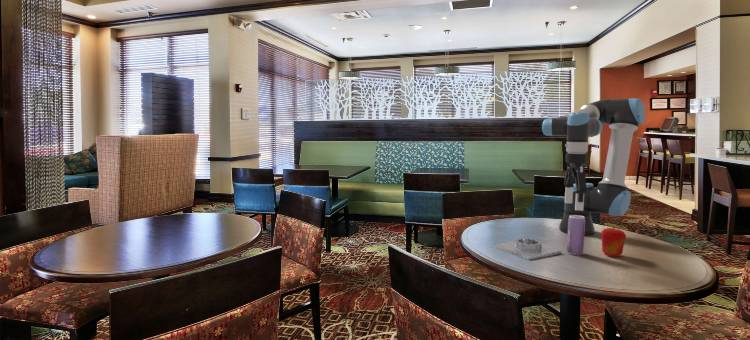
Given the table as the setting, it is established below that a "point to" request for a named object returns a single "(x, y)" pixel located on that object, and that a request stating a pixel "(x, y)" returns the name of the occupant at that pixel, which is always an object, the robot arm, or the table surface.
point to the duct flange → (528, 248)
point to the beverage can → (576, 234)
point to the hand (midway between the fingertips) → (573, 206)
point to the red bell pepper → (613, 241)
